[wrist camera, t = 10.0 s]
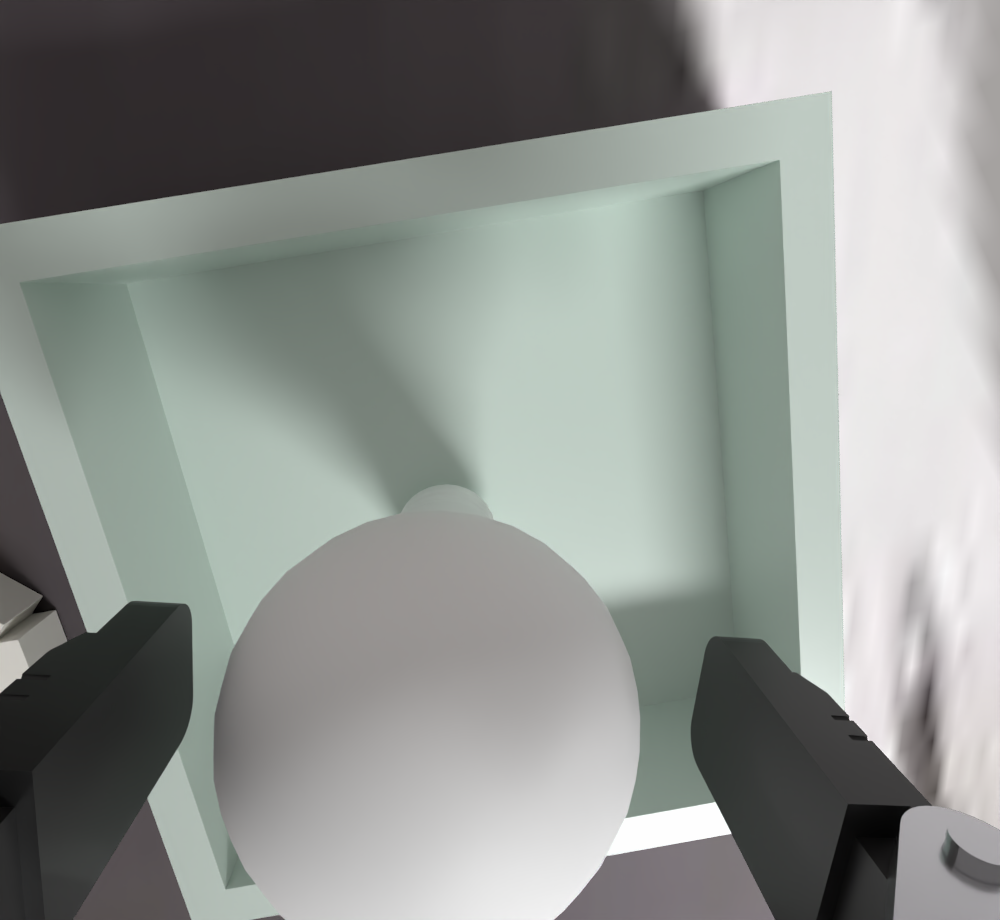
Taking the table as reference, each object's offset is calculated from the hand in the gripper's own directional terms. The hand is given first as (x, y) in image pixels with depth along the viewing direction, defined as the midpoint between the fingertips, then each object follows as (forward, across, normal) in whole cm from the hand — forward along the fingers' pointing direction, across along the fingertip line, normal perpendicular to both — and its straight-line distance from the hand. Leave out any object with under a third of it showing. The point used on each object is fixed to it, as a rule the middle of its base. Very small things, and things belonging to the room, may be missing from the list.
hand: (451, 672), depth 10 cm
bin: (+8, 0, 0) cm, 8 cm away
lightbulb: (+8, 0, 0) cm, 8 cm away
